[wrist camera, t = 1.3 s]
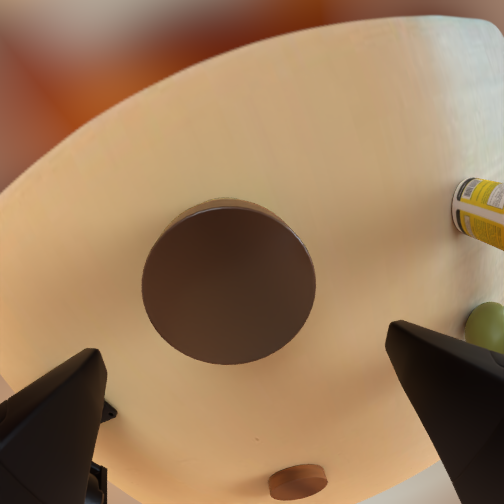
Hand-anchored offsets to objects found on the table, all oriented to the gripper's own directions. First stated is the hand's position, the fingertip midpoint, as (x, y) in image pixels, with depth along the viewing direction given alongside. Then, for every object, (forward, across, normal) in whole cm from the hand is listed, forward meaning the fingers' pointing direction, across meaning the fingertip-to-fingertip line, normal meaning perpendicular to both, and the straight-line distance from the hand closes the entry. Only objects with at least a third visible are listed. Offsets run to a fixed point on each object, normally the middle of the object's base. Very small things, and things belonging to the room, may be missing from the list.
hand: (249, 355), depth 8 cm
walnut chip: (+6, 0, 0) cm, 6 cm away
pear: (+11, -24, +9) cm, 27 cm away
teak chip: (+11, -6, +30) cm, 32 cm away
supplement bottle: (+11, -19, -2) cm, 22 cm away
